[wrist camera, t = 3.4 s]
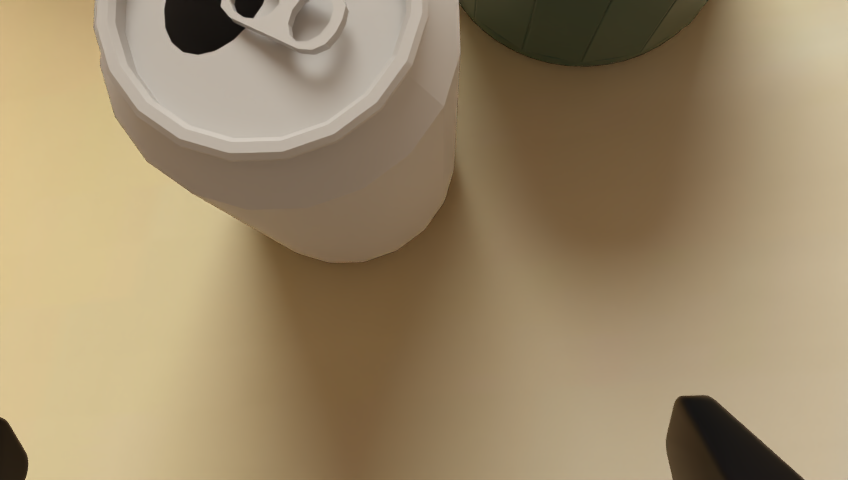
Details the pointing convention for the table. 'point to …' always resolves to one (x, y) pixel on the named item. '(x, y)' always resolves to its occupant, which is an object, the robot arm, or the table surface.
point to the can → (294, 111)
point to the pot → (582, 27)
